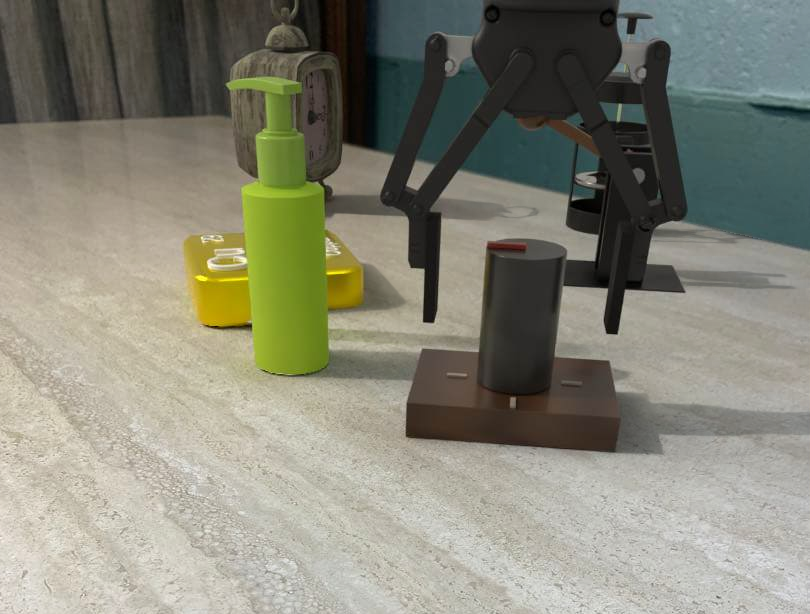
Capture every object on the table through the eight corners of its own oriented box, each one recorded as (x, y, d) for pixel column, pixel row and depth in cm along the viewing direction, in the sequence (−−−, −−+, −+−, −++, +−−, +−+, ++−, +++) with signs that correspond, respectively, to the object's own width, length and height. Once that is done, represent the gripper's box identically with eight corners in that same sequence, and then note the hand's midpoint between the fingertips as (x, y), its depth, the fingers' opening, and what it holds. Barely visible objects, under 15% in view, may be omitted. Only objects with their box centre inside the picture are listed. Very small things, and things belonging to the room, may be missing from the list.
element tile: (368, 317, 78) (368, 264, 76) (200, 330, 74) (193, 274, 72) (332, 270, 90) (331, 222, 87) (185, 279, 86) (179, 230, 84)
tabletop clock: (300, 220, 108) (289, -20, 94) (235, 213, 110) (215, -22, 96) (344, 196, 119) (340, -20, 105) (284, 191, 121) (273, -22, 108)
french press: (558, 222, 109) (583, 9, 97) (633, 225, 109) (668, 11, 96) (567, 247, 100) (596, 14, 87) (650, 250, 99) (691, 16, 86)
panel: (604, 391, 66) (610, 358, 64) (615, 452, 57) (621, 415, 56) (421, 379, 67) (422, 346, 65) (405, 436, 58) (406, 400, 57)
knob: (550, 367, 63) (566, 235, 57) (552, 397, 58) (569, 257, 53) (478, 363, 63) (488, 231, 58) (474, 392, 59) (484, 252, 54)
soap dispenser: (280, 339, 73) (263, 71, 62) (344, 359, 70) (338, 79, 59) (230, 360, 69) (202, 77, 58) (295, 381, 66) (279, 86, 55)
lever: (506, 120, 79) (527, 81, 77) (507, 115, 82) (527, 77, 80) (636, 199, 81) (660, 163, 79) (633, 191, 84) (655, 156, 82)
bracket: (557, 296, 84) (574, 155, 77) (555, 270, 92) (570, 139, 85) (682, 304, 83) (711, 161, 76) (670, 276, 91) (695, 144, 84)
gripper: (770, -68, 48) (690, 314, 60) (351, -77, 50) (354, 294, 62) (806, -73, 42) (709, 353, 54) (325, -83, 44) (335, 329, 56)
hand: (519, 322), depth 58 cm, fingers open, 11 cm apart
